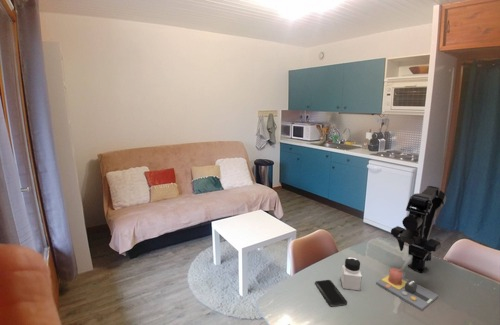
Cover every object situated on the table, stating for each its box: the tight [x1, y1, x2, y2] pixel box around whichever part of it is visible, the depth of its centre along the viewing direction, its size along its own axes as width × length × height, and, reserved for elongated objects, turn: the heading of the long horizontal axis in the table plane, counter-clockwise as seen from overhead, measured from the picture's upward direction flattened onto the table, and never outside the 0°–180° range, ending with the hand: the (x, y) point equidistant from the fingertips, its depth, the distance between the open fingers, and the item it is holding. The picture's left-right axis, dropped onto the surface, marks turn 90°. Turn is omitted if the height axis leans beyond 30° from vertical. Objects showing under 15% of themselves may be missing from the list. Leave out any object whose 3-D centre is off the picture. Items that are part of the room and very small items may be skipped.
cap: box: [388, 267, 404, 285], centre depth 118 cm, size 5×5×5 cm
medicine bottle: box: [340, 257, 363, 292], centre depth 117 cm, size 7×7×12 cm
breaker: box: [405, 280, 418, 293], centre depth 113 cm, size 4×3×4 cm
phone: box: [314, 279, 348, 308], centre depth 113 cm, size 8×1×15 cm
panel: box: [375, 274, 439, 312], centre depth 115 cm, size 14×19×2 cm
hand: (411, 255), depth 120 cm, fingers open, 9 cm apart
